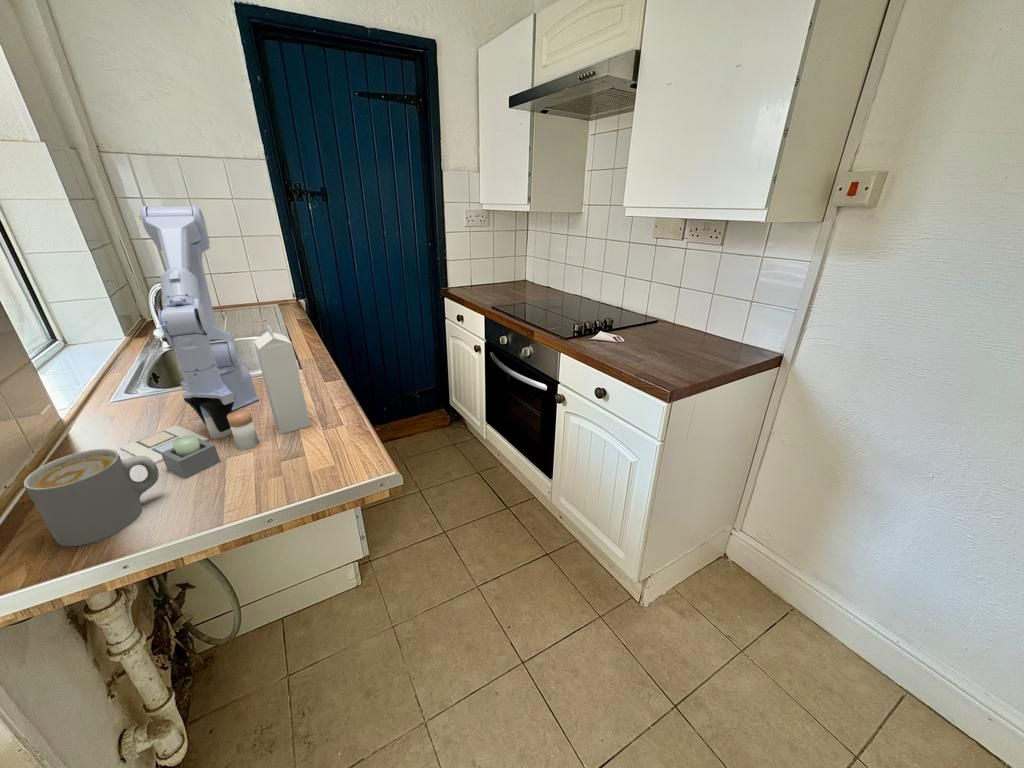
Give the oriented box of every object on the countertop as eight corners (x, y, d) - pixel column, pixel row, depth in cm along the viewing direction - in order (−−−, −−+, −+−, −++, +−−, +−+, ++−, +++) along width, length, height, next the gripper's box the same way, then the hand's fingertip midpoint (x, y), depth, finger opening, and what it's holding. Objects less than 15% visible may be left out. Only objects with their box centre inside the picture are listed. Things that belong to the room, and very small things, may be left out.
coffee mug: (52, 557, 58) (17, 499, 54) (58, 520, 65) (28, 465, 61) (172, 513, 66) (149, 460, 62) (166, 484, 73) (145, 434, 69)
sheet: (176, 426, 92) (175, 424, 92) (208, 439, 87) (208, 437, 87) (120, 448, 84) (119, 447, 84) (152, 464, 79) (151, 462, 78)
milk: (280, 435, 88) (253, 333, 79) (275, 423, 93) (248, 326, 84) (311, 426, 92) (288, 327, 83) (304, 415, 96) (282, 321, 87)
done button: (196, 449, 80) (190, 433, 79) (207, 454, 78) (201, 438, 77) (174, 459, 77) (168, 442, 76) (185, 464, 76) (179, 447, 74)
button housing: (201, 453, 82) (196, 437, 81) (220, 461, 80) (214, 445, 78) (167, 469, 77) (160, 452, 76) (185, 478, 75) (179, 461, 73)
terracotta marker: (251, 437, 87) (242, 407, 84) (263, 442, 86) (254, 411, 83) (232, 447, 84) (222, 415, 81) (244, 451, 82) (234, 420, 80)
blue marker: (225, 427, 91) (215, 398, 88) (236, 432, 89) (227, 402, 87) (206, 436, 88) (195, 406, 85) (217, 440, 86) (207, 410, 83)
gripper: (155, 367, 82) (178, 427, 88) (198, 380, 76) (220, 445, 82) (194, 355, 88) (213, 413, 94) (237, 367, 82) (254, 428, 87)
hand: (219, 427), depth 88 cm, fingers closed on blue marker, 4 cm apart
